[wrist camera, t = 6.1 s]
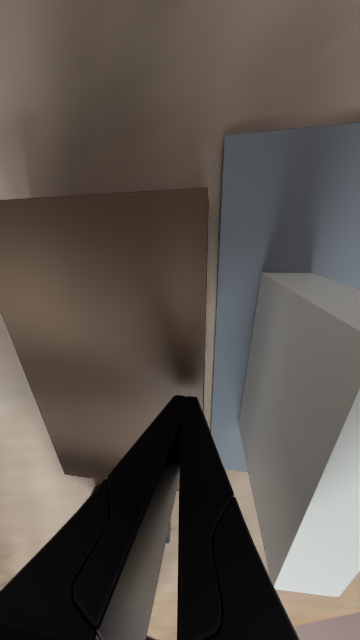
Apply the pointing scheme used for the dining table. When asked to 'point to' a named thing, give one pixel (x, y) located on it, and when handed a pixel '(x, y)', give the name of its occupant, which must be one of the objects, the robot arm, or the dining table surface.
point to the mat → (277, 241)
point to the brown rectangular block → (106, 313)
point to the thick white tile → (305, 430)
